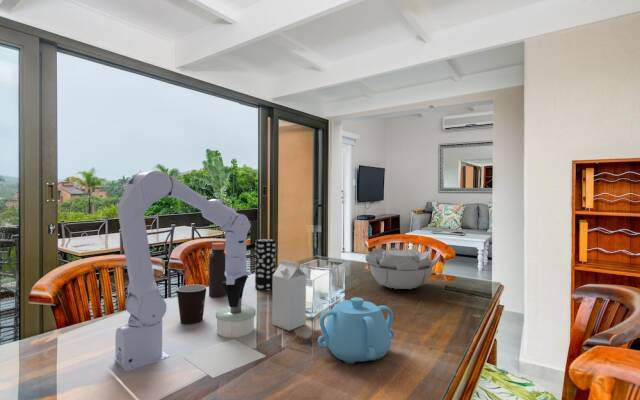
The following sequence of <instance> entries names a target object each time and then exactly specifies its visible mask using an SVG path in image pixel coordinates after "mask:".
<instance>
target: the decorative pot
mask: <svg viewBox="0 0 640 400" xmlns="http://www.w3.org/2000/svg"><path fill="white" fill-rule="evenodd" d="M383 311H387V319H386V318H385V316H384V314H383ZM326 318H327V321H326V324H325V319H326ZM393 319H394V312H393V310H392V309H391V308H390V307H389V306H387V305H383V304H382V305H378V306H377V305H376V304H375V303H373V302H371V301H366V300H365V299H364V298H363V297H352V298H350V299H345V300H343V301H342V302H339V303H335V304H334V306H333V308H332V309H327V310H326V311H324V312H322V313H321V315H320V316H319V327H320V330H321V333H322V335H319V337H318V338H317V344H318V346H319V347H321V348H328V350H329V351H330V353H332V354H333V356H335V357H336V358H337V359H338V360H341V361H343V362H344V363H345V362H346V364H348V363H352V364H354V363H356V362H368V361H377V360H376V359H379V358H380V359H381V358H383V357H384V356H385V355H386V354H387V353H388V352H389V350H390V349H391V346H392V339H394V337H395V331H394V330H393V329H392V328H391V326H392V324H393ZM323 339H324V341H322V340H323ZM380 359H379V360H380ZM353 362H354V363H353Z"/></svg>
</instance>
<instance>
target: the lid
mask: <svg viewBox="0 0 640 400" xmlns="http://www.w3.org/2000/svg"><path fill="white" fill-rule="evenodd" d="M242 299H243V298H242ZM242 299H241V298H239V303H238V306H237V307H230V306H226V307H223V308H220V309H218V310H217V311H216V312H215V318H216V320H217V319H218V320H221V321H227V322H236V321H244V320H248V319H250V318H252V317H254V318H255V316H256V315H257V311H256V309H255V308H254V307H252V306H247V305H242V302H243V301H242Z"/></svg>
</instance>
